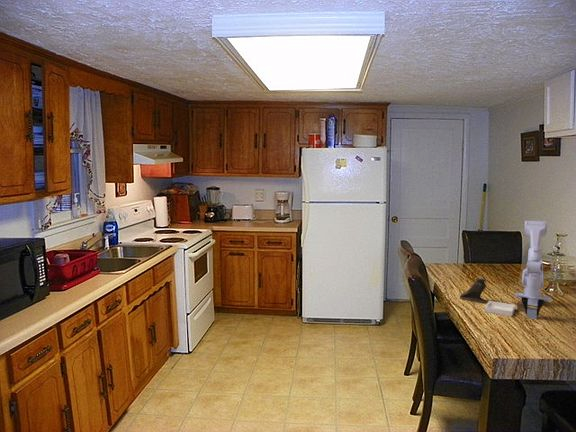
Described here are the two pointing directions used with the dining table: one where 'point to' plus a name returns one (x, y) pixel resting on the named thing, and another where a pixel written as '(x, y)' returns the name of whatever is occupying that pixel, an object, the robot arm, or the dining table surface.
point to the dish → (500, 308)
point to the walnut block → (520, 306)
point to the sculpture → (475, 291)
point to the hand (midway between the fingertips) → (532, 314)
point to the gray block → (532, 313)
